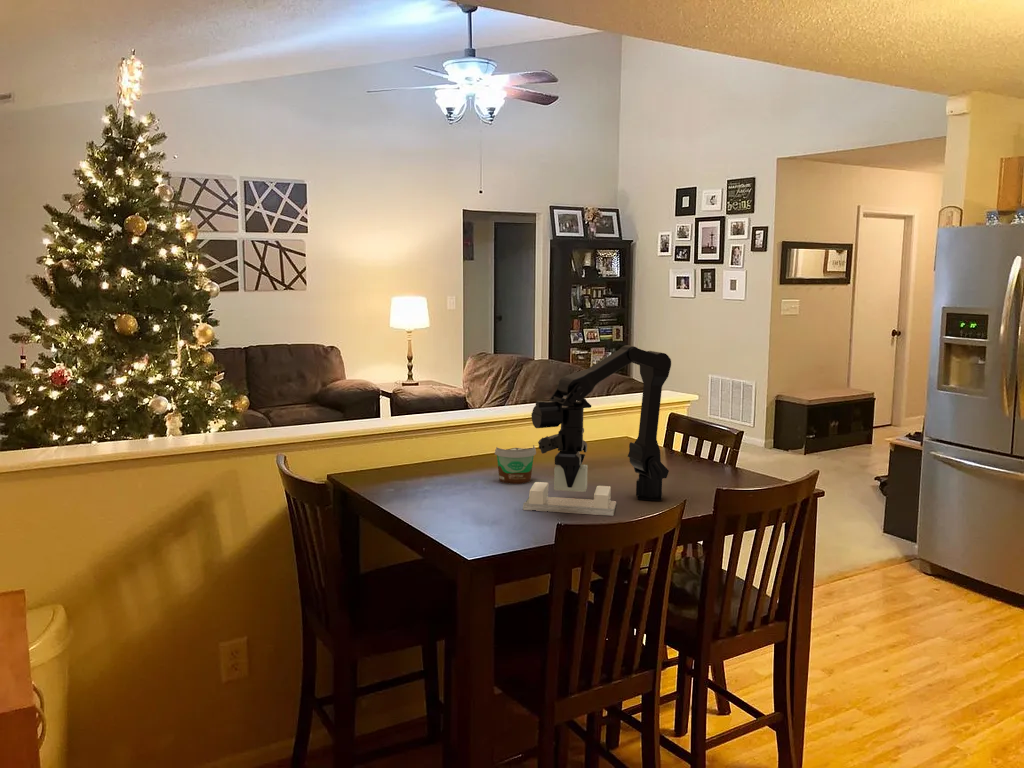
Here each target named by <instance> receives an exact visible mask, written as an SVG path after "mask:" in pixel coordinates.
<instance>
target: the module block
mask: <svg viewBox="0 0 1024 768" xmlns="http://www.w3.org/2000/svg"><path fill="white" fill-rule="evenodd" d="M588 465H589V464H581V466H580V468H579V471H578V473H577V476H576V478H575V481H574V483H573V486H572V487H571V488H569V487H567V482H566V478H565V474H564V470H563V468H562V467H561V466H560V465H554V468H553V469H554V473H553V475H554V477H553V478H554V479H553V481H554V483H553V484H554V485H553V490H554V491H562V492H563V491H564V492H577V493H578V492H579V493H581V492H582V493H586V491H587V488H588V467H589V466H588Z"/></svg>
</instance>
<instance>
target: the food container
mask: <svg viewBox="0 0 1024 768" xmlns="http://www.w3.org/2000/svg"><path fill="white" fill-rule="evenodd" d="M494 455H496V460H497V470H498V480H500V483H505V484H509V483H510V484H511V485H519V484H520V485H522V483H523V484H527V482H528V483H530V482H531V480H532V474H533V466H534V465H533V464H534V456H535V455H537V450H536V447H535V445H532V447H529V448H521V447H512V448H507V449H503V448H501V447H498V446H496V448H495V450H494ZM529 481H530V482H529Z"/></svg>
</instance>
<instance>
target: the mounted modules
mask: <svg viewBox="0 0 1024 768" xmlns="http://www.w3.org/2000/svg"><path fill="white" fill-rule="evenodd" d="M611 490H612V489H611V486H610V485H609V486H608V485H597V486H596V489H595V491H594V494H593V500H594V508H604V509H608V508H609V504H610V501H611V496H612V495H611V494H612V493H611ZM548 497H549V482H543V481H542V482H541V481H535V482H534V483H533V485H532V486H531V488H530V489H529V496H528V498H529V504H542V505H543V504H545V502H546V500H547V498H548Z"/></svg>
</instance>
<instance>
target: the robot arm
mask: <svg viewBox="0 0 1024 768" xmlns="http://www.w3.org/2000/svg"><path fill="white" fill-rule="evenodd" d="M619 348H620V349H617V350H616V351H615V352H612V353H611V354H610V355H608V356H606V357H604V358H603V359H601V360H600V361H598V362H597V363H595V364H593V365H591V366H590V367H588V368H586V369H584V370H579V371H575V372H572V373H569V374H566V375H565V376H563V377H561V378H560V379H559V380H558V381H559V382H558V385H557V388H556V389H555V391H554V392H553V394H552V395H551V397H550V398H549V400H546V401H545V400H544V401H542V400H536V401H535V405H534V407H533V408H532V412H531V423H532V425H533V427H534V429H545V428H558V427H560V429H559V431H558V433H556V434H552V435H549V436H548V435H546V436H545V437H542V438H540V439H539V440H538V441H537V443H538V449H539V450H540V452H541V454H547V452H550V451H553V450H557V451H558V452H557V453H556V455H555V456H554V466H556V465H560V466H561V467H562V468H563V470H564V474H565V478H566V482H567V487H569V488H571V487H572V486H573V483H574V481H575V478H576V476H577V473H578V471H579V468H580V466H581V465H583V462H584V459H585V457H586V454H584V453H587V452H588V443H587V442H586V441H585V440H584V434H585V433H584V432H585V428H584V409H591V407H592V405H591V403H590V402H588V401H587V399H586V397H587V396H588V395H589V394H591V392H593V390H594V388H595V387H596V386H597V385H598V384H599V383H601V382H602V381H604V380H605V379H607V378H608V377H610V376H612V375H613V374H615V373H616V372H618V371H620V370H622V369H623V368H626V367H627V366H629V365H630V364H631V363H633V364H635V365H638V366H639V374H640V378H641V380H642V383H643V387H642V396H641V405H640V406H641V407H640V418H639V425H638V433H637V434H638V436H637V438H636V439H635V441H634V442H633V441H632V442H629V444H628V445H629V446H628V448H629V449H628V454H627V458H629V463H630V464H631V466H632V467H633V469H634V472H635V473H636V474H638V478H637V479H636V483H635V496H637V500H640V501H641V500H642V501H656V502H657V501H658V502H662V501H663V479H667V478H668V476H669V472H670V470H669V469H668V468H667V467H666V466H665V465H664V464H663V462H661V461H662V460H661V459H662V458H661V456H662V455H661V449H660V446H659V443H658V440H657V439H658V438H657V437H658V428H659V427H658V426H659V418H660V410H661V409H660V408H661V400H662V389H663V386H664V384H665V382H666V381H667V380H668V377H669V374H670V371H671V368H672V359H671V358H670V356H669V355H668V354H667V353H664V352H661V351H660V352H659V351H655V350H643V349H641V348H638V347H636V346H633V345H628V344H626V345H623V346H621V347H619ZM581 452H583V453H581Z"/></svg>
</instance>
